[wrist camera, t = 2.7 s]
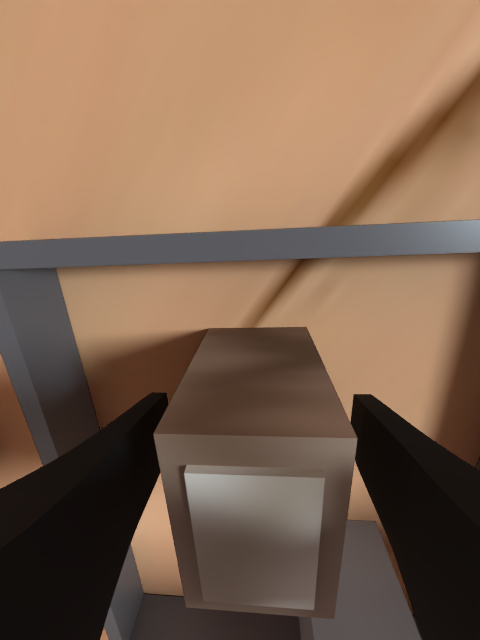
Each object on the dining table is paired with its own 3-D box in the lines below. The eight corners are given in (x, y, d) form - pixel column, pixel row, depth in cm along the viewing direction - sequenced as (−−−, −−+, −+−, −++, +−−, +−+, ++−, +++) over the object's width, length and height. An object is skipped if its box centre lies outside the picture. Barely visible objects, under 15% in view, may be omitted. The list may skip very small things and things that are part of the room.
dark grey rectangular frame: (586, 214, 9) (711, 209, 6) (438, 624, 16) (468, 691, 14) (28, 240, 10) (-42, 243, 8) (134, 600, 18) (115, 656, 16)
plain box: (375, 520, 14) (453, 721, 8) (362, 589, 16) (418, 789, 10) (298, 516, 14) (322, 706, 9) (295, 584, 16) (313, 775, 11)
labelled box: (306, 326, 11) (361, 446, 5) (301, 443, 13) (336, 630, 7) (208, 327, 11) (149, 441, 5) (219, 441, 13) (184, 617, 7)
